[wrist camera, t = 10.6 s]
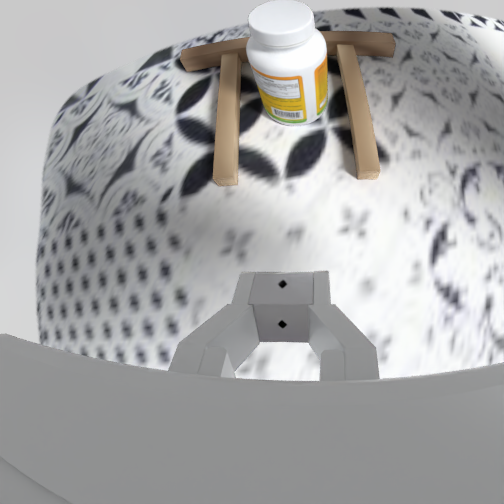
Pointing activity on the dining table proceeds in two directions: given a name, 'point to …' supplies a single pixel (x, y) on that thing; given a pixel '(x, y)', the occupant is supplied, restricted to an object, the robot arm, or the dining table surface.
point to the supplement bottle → (288, 61)
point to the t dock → (230, 84)
